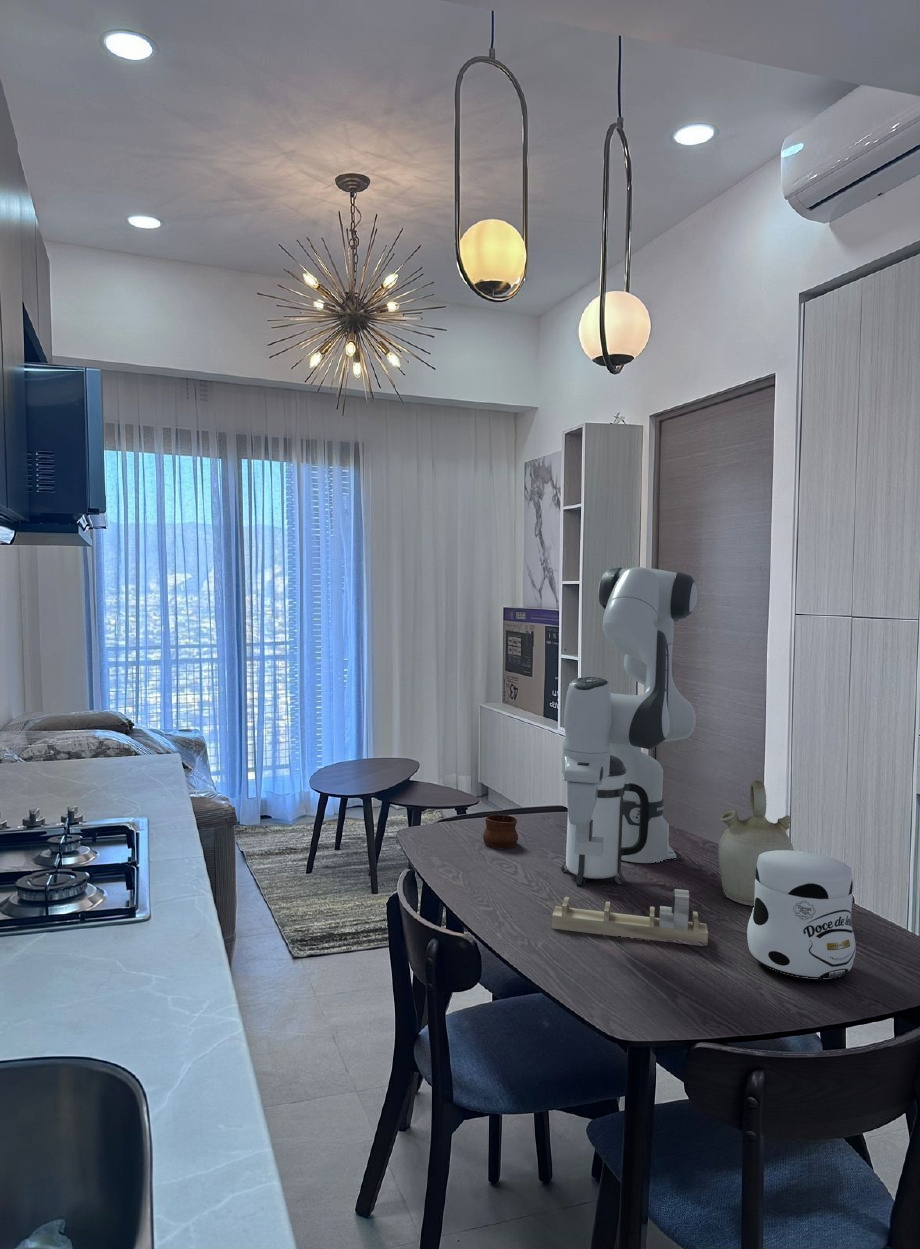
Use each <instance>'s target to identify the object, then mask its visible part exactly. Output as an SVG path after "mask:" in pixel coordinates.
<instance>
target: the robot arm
mask: <svg viewBox="0 0 920 1249" xmlns="http://www.w3.org/2000/svg"><path fill="white" fill-rule="evenodd" d="M696 585H697V584H696V580H695V579H694V578H693V576H691V575H689V574H687V573H683V572H680V571H677V572H674V571H673V572H672V571H669V570H663V569H657V568H645V567H642V566H640V567H639V566H638V567H637V566H636V567H635V566H634V567H630V568H623V567H612V568H609V569H607V570H606V571H605V572H604V573H603V574H602V576H601V579H600V580H599V583H598V587H597V596H598V602H599V604H600V605H601V607H602V608H603V609H604V612H603V613H604V614H603V618H602V630H603V635H604V637H605V639H606V640H607V641H608V643H609V644H610V645H611V646H612V647H613V648H614V649H616V650H617V651H618V652H620V653H622V654H624V658H623V669H624V672H625V673H626V674H627V675H628V677H630V678H631V679H633V681H636V682H637V683H639V684H641V685H643V686H644V687H645V691H644V692H642V693H641V694H625V693H624V694H623V693H615V692H611V687H610V682H609V681H608V680H606V679H604V678H602V677H596V676H585V677H583V676H582V677H578V678H575V679H572V680H571V681H570V682H569V683H568V684H569V685H568V688H567V693H566V696H565V703H564V704H565V705H564V714H563V728H564V731H565V732H564V733H565V734H564V735H565V737H564V741H563V743H562V754H561V755H562V758H561V759H562V760H561V763H562V764H561V773H562V774H563V777H564V780H563V781H564V782H567V783H566V799H567V817H568V816H569V822H570V824H572V825H576V832H577V835H576V840H577V842H581V843H585V842H586V839H587V826H588V825H589V824H590V821H591V818H592V814H593V811H594V808H595V805H596V802H597V793H598V785H600V784H602V779H603V778H604V777H607V776H609V768H610V755H611V754H612V756H615V757H617V758H619V759H620V760H621V761H622V762H623V764H624V767H625V768H626V774H625V776H624V784H629V783H633V784H637V785H639V786H641V787H642V788H643V789H644V790H645V791H646V793H647V796H648V801H649V818H648V835H647V841H646V844H645V846H644V847H643V849H642V850H641V851H640V852H638V853H636V854H633V855H625V856H622V859H621V861H624V862H628V863H629V862H630V863H638V864H639V863H640V864H652V863H654V864H655V862H656V863H660V861H661V862H664V861H663V860H664V859H668V858H669V859H670V858H676V859H677V854H676V853H675V851H674V849H673V848H672V847H671V846H670V844H669V842H670V838H669V837H670V824H669V823H668V821H667V820H666V819H665V817H664V811H665V810H664V808H665V803H664V802H665V800H664V799H663V784H664V783H663V782H664V769H663V766H662V764H660V763H661V762H659V761H658V760H657V759H655V758H654V757H652V756H650V755H648V754H647V753H645V752H643V751H642V750H641V749H646V750H652V749H654V748H656V747H658V746H659V745H661V744H662V743H663V742H674V741H679V740H684V739H688V738H689V737H690V736H691V735H692V734H693V732H694V730H695V728H696V724H697V715H696V711H695V708H694V706H693V705H692V703H691V702H690V701H689V700H688V699H686V698H685V697H684V696H683V695H682V694H681V693H680V691H679V690H678V688H677V687H676V684H675V681H674V677H673V668H672V667H673V663H672V662H673V647H674V638H675V637H674V636H675V635H674V633H675V632H674V629H675V626H674V625H675V624H674V623H676V622H679V620H682V619H686V618H687V617H688V616H690V615H691V614H692V613H693V610H694V608H695V607H696V604H697V600H698V589H697V586H696ZM639 821H640V798H639V796H638V794H637V793H636V792H631V791H625V794H624V797H623V821H622V845H621V847H631V846H633V845H634V844H635V843H636V842H637V840H638V837H639Z"/></svg>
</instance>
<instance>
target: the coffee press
mask: <svg viewBox="0 0 920 1249" xmlns="http://www.w3.org/2000/svg"><path fill="white" fill-rule="evenodd" d="M625 774H626V768H625V767H624V764H623V762H622V761H621V760H620V759H619V758H617V757H615V756H613V754H612V755H611V754H610V768H609V776H607V777H604V778H603V779H602V784H600V785H598V793H597V802H596V805H595V808H594V811H593V814H592V818H591V820H593V833H592V836H594V837H604V843H603V853H602V857H601V856H591V855H581V854H575V832H576V825H572V824H570V822H569V816H568V815H567V824H566V825H567V828H566V829H567V830H566V848H565V850H566V851H565V852H566V853H565V861H564V863H563V864H562V866H561V867H560V870H561V871H562V873H567V872H570V873H572V874H573V875H576V879H575V885H576V886H579V887H583V886H584V885H585V882H586V880H587V879H597V880H598V879H608V878H609V879H610V878H612V879H613V880H614V881H615V883H616V884H617V883H618V884H617V885H619V883H622V884H621V885H623V884H624V883H625V882H626V879H625V876H624V875H623V873H622V867H621V863H622V862H621V861H622V860H621V859H622V856H625V855H633V854H636V853H638V852H640V851H641V850H642V849H643V847H644V846H645V844H646V841H647V835H648V818H649V801H648V796H647V793H646V791H645V790H644V789H643V788H642V787H641V786H639V785H637V784H633V783H629V784H624V776H625ZM562 780H563V781H564V776H563V777H562ZM625 791H631V792H636V793H637V794H638V796H639V798H640V821H639V837H638V840H637V842H636V843H635V844H634V845H633V846H631V847H621V845H622V821H623V797H624V794H625ZM565 866H566V868H567V870H566V869H565ZM616 875H618V876H619V878H620V879H621V881H620V880H619V878H618V877H617V876H616Z"/></svg>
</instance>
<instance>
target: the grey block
mask: <svg viewBox="0 0 920 1249" xmlns="http://www.w3.org/2000/svg"><path fill="white" fill-rule="evenodd" d="M592 833H593V820H591V821H590V824H589V825H588V826H587V839H586V842H585V843H581V842H577V840H576V835H577V832H575V854H581V855H591V856H601V857H602V853H603V843H604V837H594V836H592Z"/></svg>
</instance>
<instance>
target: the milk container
mask: <svg viewBox="0 0 920 1249" xmlns="http://www.w3.org/2000/svg"><path fill="white" fill-rule="evenodd" d="M853 887H854V880H853V872H852V867H851V866H850V865H848V864H847V863H845V862H844V861H841V860H839V859H836V858H834V857H830V856H827V855H824V854H818V853H813V852H809V851H808V852H807V851H801V850H800V851H797V850H794V851H790V850H775V851H768V852H764V853H762V854H760V855H759V857H758V861H757V867H756V879H755V901H754V907H753V908H752V912H751V914H750V917H749V920H748V923H747V927H746V928H747V930H746V931H747V932H746V936H747V938H746V939H747V944H748V949H749V952H750V954H751V955H752V957H753V958H754V959H755V960H756V961H757V962H758V963H759V962H760V963H759V964H761V965H762V964H763V966H764V965H765V966H766V967H765V966H764V967H765V968H767V967H768V968H771V969H774V970H776V971H778V972H782V973H785V974H789V975H793V976H799V977H808V978H818V979H823V978H834V979H836V978H835V977H839V976H842V977H844V976H845V975H847V974H848V973H849V972H850V971H851V969H852V968H853V964H854V961H855V957H856V950H857V946H856V945H857V944H856V939H855V934H854V930H853V924H852V909H853V898H854V897H853ZM768 968H767V969H768ZM771 969H770V970H771ZM776 971H775V972H776ZM778 972H777V973H778ZM839 978H840V977H839Z"/></svg>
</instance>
